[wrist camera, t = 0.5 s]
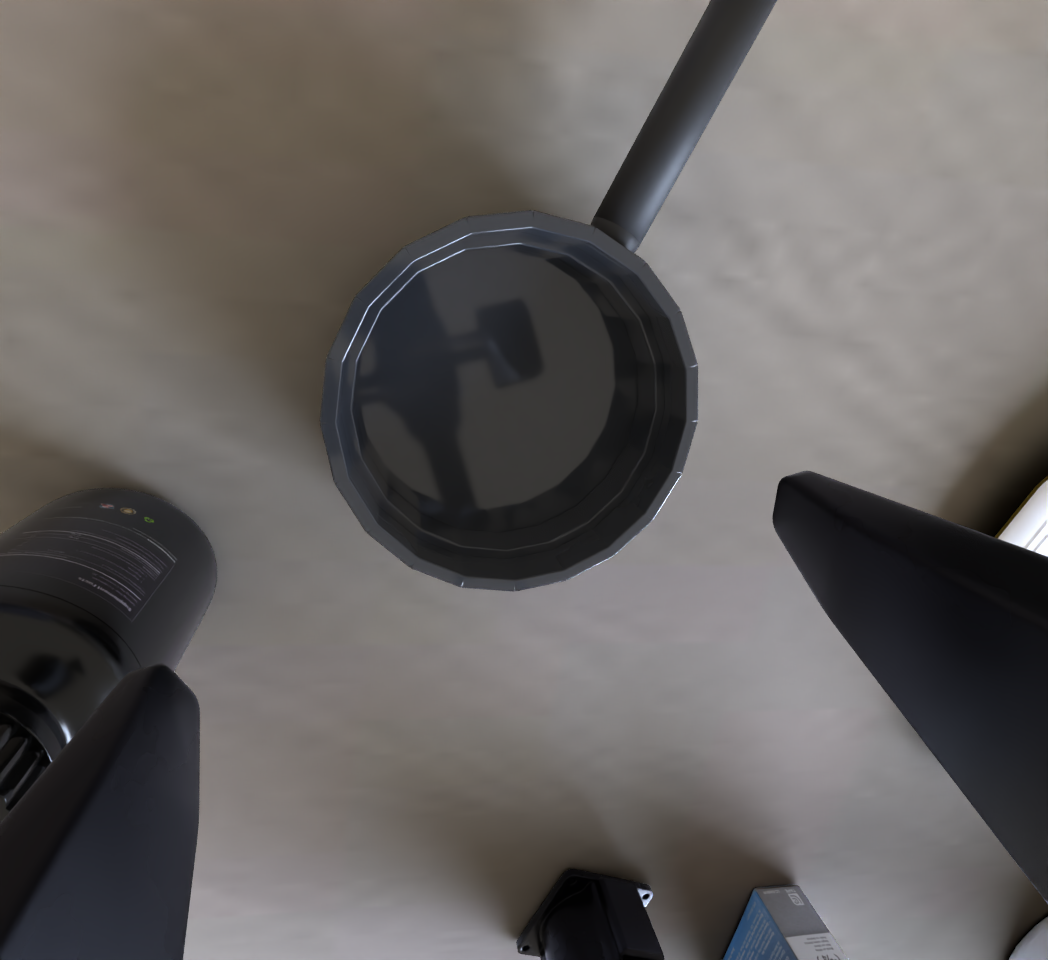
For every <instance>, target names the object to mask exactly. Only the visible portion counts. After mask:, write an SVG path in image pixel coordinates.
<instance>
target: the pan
mask: <svg viewBox="0 0 1048 960" xmlns="http://www.w3.org/2000/svg"><path fill="white" fill-rule="evenodd" d="M697 421H698V366H697V361H696V357H695V354H694V351H693V348H692V345H691V341H690V338H689V335H688V332H687V328H686V325H685V322H684V319H683V316H682V312H681V311H680V308H679V307H678V305H677V304H676V303H675V301H674V300H673V299H672V297H671V296H670V294H669V293H668V292H667V290H666V289H665V287H664V286H663V285H662V283H661V282H660V280H659V279H658V278H657V276H656V275H655V274H654V272H653V271H652V269H651V268H650V267H649V265H648V264H647V263H645V261H644V260H643V259H641V258H640V257H639V256H637V255H636V254H634V253H633V252H631V251H630V250H628V249H627V248H626V247H624V246H623V245H621V244H620V243H618V242H617V241H615V240H614V239H613V238H611V237H610V236H608V235H607V234H605V233H604V232H603V231H601V230H600V229H598V228H597V227H594V226H592V225H588V224H584V223H580V222H576V221H573V220H569V219H565V218H561V217H557V216H553V215H550V214H546V213H542V212H538V211H531V210H529V211H518V212H508V213H498V214H488V215H478V216H468V217H464V218H462V219H460V220H458V221H456V222H454V223H452V224H449V225H447V226H445V227H443V228H441V229H439V230H437V231H435V232H433V233H431V234H429V235H427V236H425V237H422V238H420V239H418V240H416V241H414V242H412V243H410V244H408V245H406V246H405V247H403V248H402V249H401V250H400V251H399V252H398V253H397V254H396V255H395V256H394V257H393V258H392V259H391V260H390V261H389V262H388V263H387V264H386V265H385V266H384V267H383V268H382V269H381V270H380V271H379V272H378V273H377V274H376V275H375V276H374V277H373V278H372V279H371V280H370V281H369V282H368V283H367V284H366V285H365V286H364V287H363V288H362V289H361V290H360V291H359V292H358V293H357V294H356V297H354V299H353V301H352V303H351V305H350V308H349V310H348V312H347V314H346V316H345V318H344V320H343V323H342V325H341V327H340V329H339V331H338V333H337V335H336V337H335V340H334V342H333V344H332V346H331V348H330V350H329V352H328V355H327V358H326V364H325V374H324V384H323V394H322V404H321V414H320V422H321V423H320V426H321V430H322V434H323V438H324V443H325V447H326V451H327V455H328V459H329V463H330V467H331V471H332V476H333V480H334V482H335V485H336V486H337V488H338V489H339V491H340V493H341V494H342V496H343V497H344V499H345V500H346V502H347V504H348V505H349V507H350V508H351V510H352V511H353V513H354V514H355V516H356V518H357V519H358V521H359V522H360V524H361V525H362V527H363V529H364V530H365V531H366V532H367V534H369V535H370V536H371V537H372V538H374V539H375V540H376V541H377V542H379V543H380V544H381V545H382V546H384V547H385V548H386V549H387V550H389V551H390V552H391V553H392V554H394V555H395V556H396V557H397V558H398V559H400V560H401V561H402V562H403V563H405V564H406V565H407V566H408V567H411V568H412V569H414V570H417V571H419V572H422V573H425V574H427V575H430V576H432V577H435V578H438V579H440V580H443V581H445V582H448V583H451V584H453V585H456V586H458V587H462V588H474V589H487V590H501V591H520V590H524V589H529V588H534V587H539V586H543V585H548V584H553V583H557V582H562V581H566V580H569V579H571V578H573V577H575V576H576V575H578V574H580V573H582V572H584V571H586V570H588V569H590V568H592V567H594V566H596V565H598V564H600V563H602V562H603V561H605V560H607V559H609V558H611V557H613V555H616V554H617V553H618V552H619V551H620V550H621V549H622V548H623V547H624V546H625V545H626V544H628V543H629V542H630V541H631V540H632V539H633V538H634V537H635V536H636V535H637V534H638V533H640V532H641V531H642V530H643V529H644V528H645V527H646V526H647V525H648V524H649V523H650V522H651V521H652V519H654V518H655V516H656V515H657V513H658V512H659V510H660V508H661V507H662V505H663V504H664V502H665V500H666V499H667V497H668V496H669V494H670V493H671V491H672V489H673V488H674V486H675V485H676V483H677V481H678V480H679V478H680V477H681V473H683V469H684V466H685V463H686V459H687V456H688V453H689V449H690V446H691V442H692V439H693V436H694V432H695V429H696V426H697Z"/></svg>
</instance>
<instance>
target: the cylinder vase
mask: <svg viewBox="0 0 1048 960" xmlns="http://www.w3.org/2000/svg"><path fill="white" fill-rule="evenodd" d="M1009 960H1048V917H1046V918H1045V919H1044V920H1042V921H1041V922H1040V923H1038V924H1037V925H1036V926H1035V927H1034V928H1033V929H1032V930H1031V931H1030V932H1029V933H1028V934H1027V935H1026V936H1025V937H1024V938H1023V939H1022V940H1021V941H1020V943H1019V944H1018V945H1017V947H1016V948H1015V950H1014V951H1013V953H1012V955H1011V956H1010V958H1009Z"/></svg>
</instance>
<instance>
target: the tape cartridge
mask: <svg viewBox="0 0 1048 960" xmlns="http://www.w3.org/2000/svg"><path fill="white" fill-rule="evenodd" d="M723 960H848V958H847V957H846V955H845V954H844V952H843V951H842V949H841V948H840V946H839V945H838V943H837V942H836V940H835V939H834V937H833V936H832V934H831V933H830V931H829V930H828V929H827V927H826V925H825V924H824V923H823V921H822V920H821V918H820V917H819V915H818V914H817V912H816V911H815V909H814V908H813V906H812V905H811V903H810V902H809V900H808V899H807V897H806V896H805V894H804V893H803V891H802V890H801V888H800V887H799V886H798V885H780V886H771V887H760V888H755V889H754V890H753V892H752V895H751V897H750V900H749V902H748V904H747V907H746V909H745V912H744V914H743V916H742V919H741V921H740V923H739V926H738V928H737V930H736V932H735V934H734V937H733V939H732V941H731V943H730V945H729V948H728V950H727V952H726V954H725V956H724V958H723Z"/></svg>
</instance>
